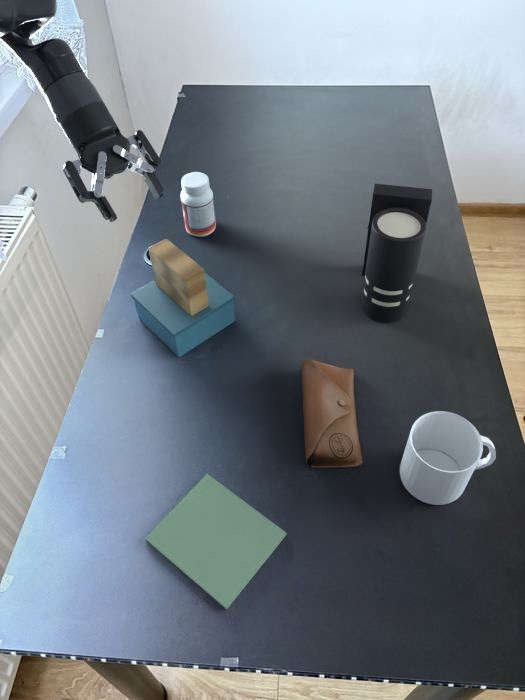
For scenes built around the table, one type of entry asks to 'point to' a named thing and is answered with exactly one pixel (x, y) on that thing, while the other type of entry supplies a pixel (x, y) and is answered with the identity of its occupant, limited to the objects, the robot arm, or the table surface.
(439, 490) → the mug
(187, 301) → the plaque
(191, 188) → the pill bottle
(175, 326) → the toy box
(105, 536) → the table surface
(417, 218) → the light fixture
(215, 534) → the mat
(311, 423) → the sunglasses case
